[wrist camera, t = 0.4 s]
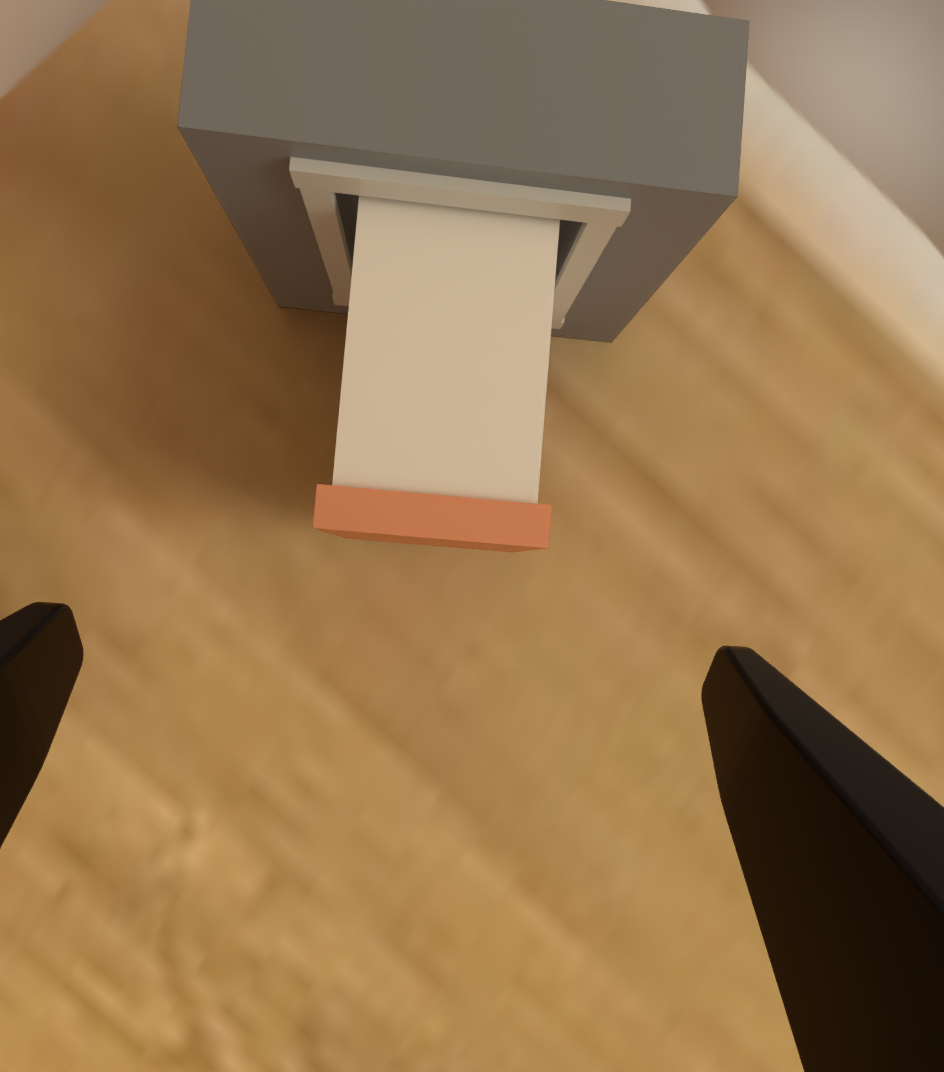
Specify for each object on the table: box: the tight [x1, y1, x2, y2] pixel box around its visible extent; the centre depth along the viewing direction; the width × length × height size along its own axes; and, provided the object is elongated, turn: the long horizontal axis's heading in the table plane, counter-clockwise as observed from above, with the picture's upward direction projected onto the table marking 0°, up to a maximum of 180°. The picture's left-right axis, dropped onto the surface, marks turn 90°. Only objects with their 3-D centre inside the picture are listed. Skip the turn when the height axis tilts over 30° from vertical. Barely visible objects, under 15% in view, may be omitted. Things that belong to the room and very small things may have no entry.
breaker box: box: [177, 0, 749, 343], centre depth 20 cm, size 4×12×10 cm, turn 85°
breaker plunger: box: [313, 195, 560, 552], centre depth 19 cm, size 10×5×6 cm, turn 175°
